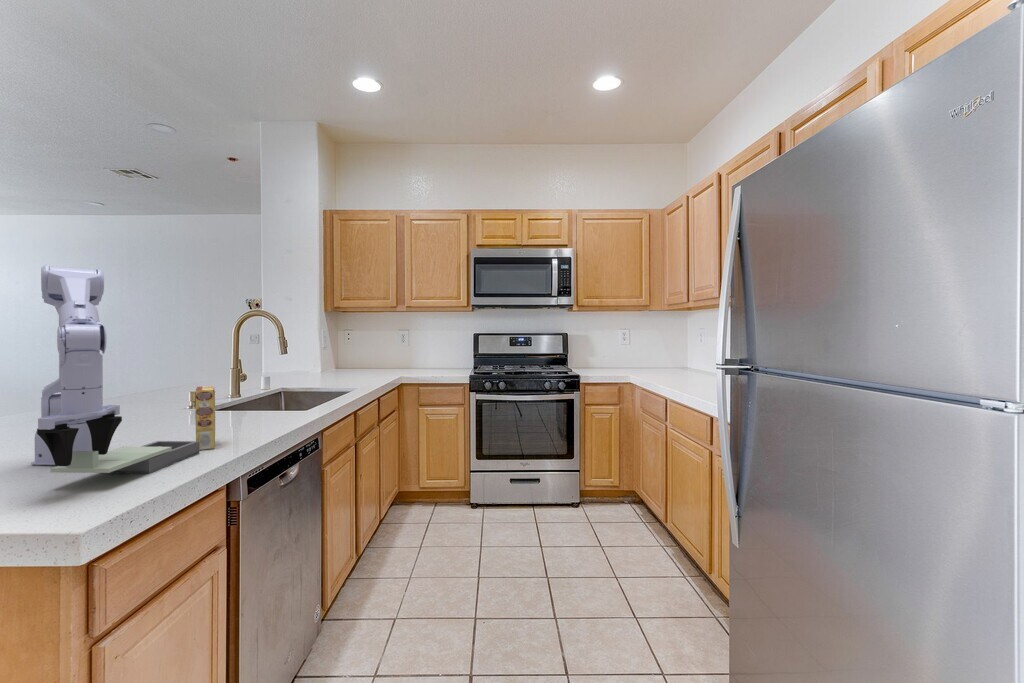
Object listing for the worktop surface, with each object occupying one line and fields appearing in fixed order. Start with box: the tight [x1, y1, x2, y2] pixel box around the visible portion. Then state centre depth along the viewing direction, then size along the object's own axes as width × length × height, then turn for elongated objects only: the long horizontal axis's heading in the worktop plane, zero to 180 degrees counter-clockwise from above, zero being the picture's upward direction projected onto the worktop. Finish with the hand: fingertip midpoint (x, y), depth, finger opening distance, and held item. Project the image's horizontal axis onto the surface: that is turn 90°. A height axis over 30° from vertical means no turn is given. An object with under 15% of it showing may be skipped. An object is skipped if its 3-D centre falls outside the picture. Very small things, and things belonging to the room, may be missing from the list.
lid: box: [50, 445, 172, 474], centre depth 93 cm, size 11×16×4 cm, turn 2°
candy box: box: [194, 385, 216, 451], centre depth 118 cm, size 9×4×15 cm, turn 33°
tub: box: [109, 440, 200, 475], centre depth 103 cm, size 10×16×3 cm, turn 1°
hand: (82, 459), depth 86 cm, fingers open, 7 cm apart
